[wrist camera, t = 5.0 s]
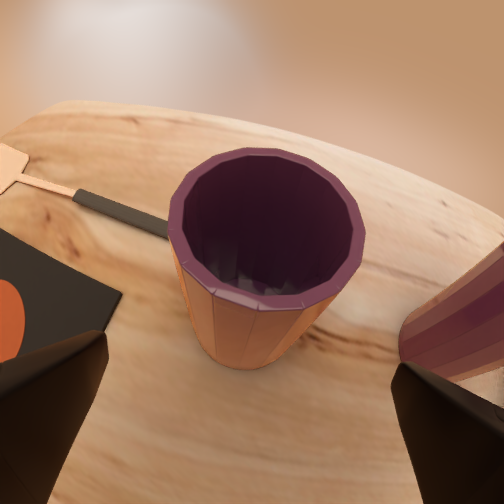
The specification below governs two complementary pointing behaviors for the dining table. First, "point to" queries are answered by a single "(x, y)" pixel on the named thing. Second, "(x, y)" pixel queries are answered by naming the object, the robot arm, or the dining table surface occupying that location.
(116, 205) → the spatula
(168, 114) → the dining table surface
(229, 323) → the cup
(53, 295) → the mat
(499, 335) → the cup
